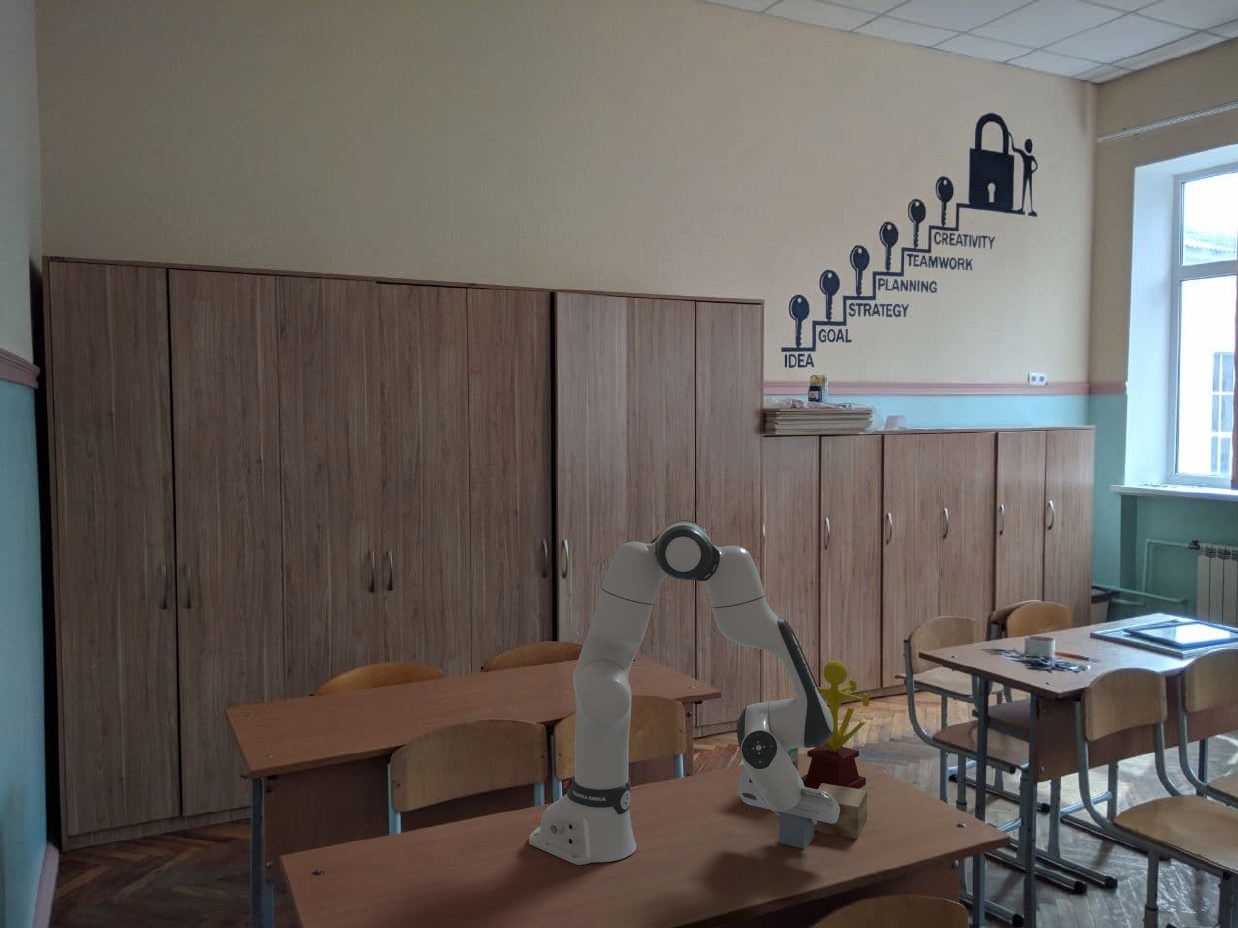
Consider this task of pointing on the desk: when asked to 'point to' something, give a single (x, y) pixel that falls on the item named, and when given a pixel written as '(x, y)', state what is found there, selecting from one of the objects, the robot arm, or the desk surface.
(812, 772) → the trophy
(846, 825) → the walnut box
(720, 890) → the desk surface
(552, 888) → the desk surface
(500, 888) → the desk surface
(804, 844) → the lidded storage box
